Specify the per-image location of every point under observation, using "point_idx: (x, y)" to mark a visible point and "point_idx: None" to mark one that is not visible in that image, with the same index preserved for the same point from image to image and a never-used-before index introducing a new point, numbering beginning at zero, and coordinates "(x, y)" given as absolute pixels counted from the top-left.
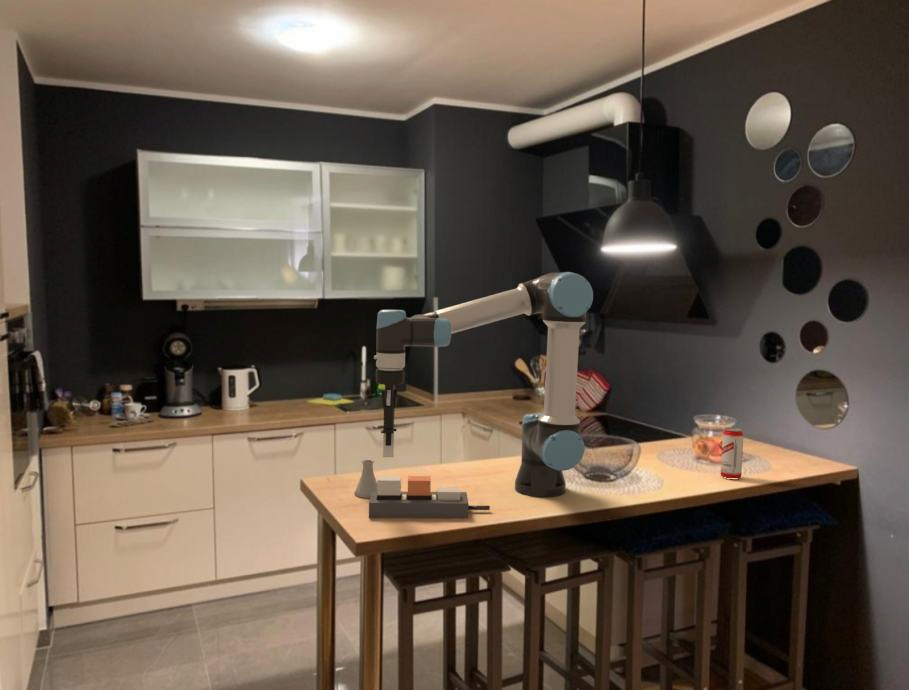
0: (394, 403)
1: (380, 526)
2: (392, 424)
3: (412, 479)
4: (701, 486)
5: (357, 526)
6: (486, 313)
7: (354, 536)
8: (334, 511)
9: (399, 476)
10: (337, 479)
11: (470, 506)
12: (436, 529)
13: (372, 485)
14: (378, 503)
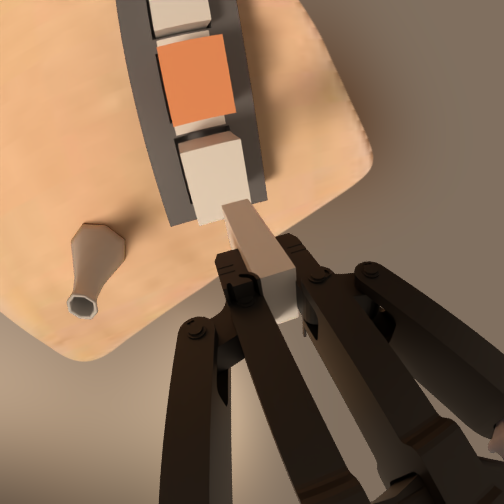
0: (465, 453)
1: (303, 147)
2: (420, 294)
3: (217, 99)
4: None
5: (307, 192)
6: None
7: (353, 182)
8: None
9: (188, 156)
10: (51, 331)
11: None
12: (306, 29)
13: (101, 249)
14: (264, 177)
